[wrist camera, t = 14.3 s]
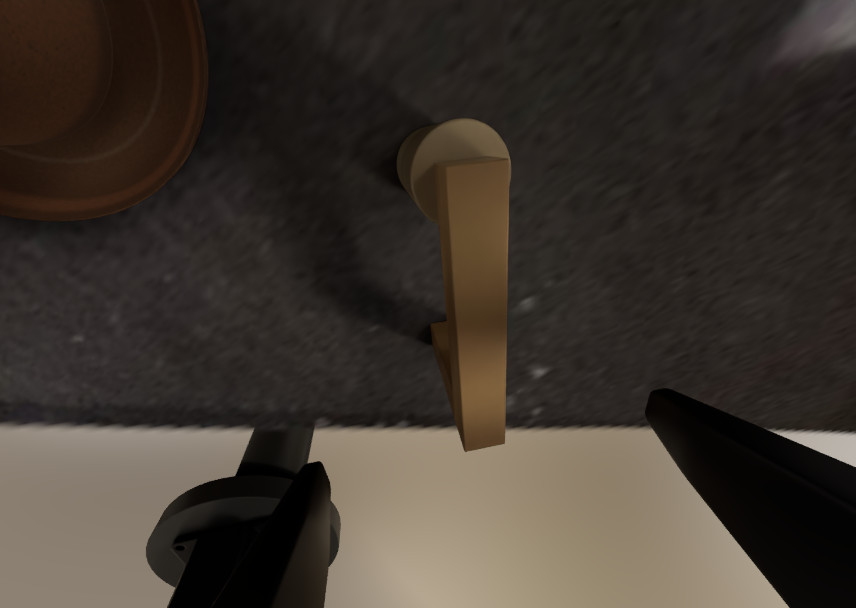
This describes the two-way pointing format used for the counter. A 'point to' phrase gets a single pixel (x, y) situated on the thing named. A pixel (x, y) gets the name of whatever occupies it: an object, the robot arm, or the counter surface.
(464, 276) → the brown bracket-shaped piece
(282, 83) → the counter surface
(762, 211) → the counter surface
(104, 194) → the cup and saucer
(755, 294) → the counter surface
